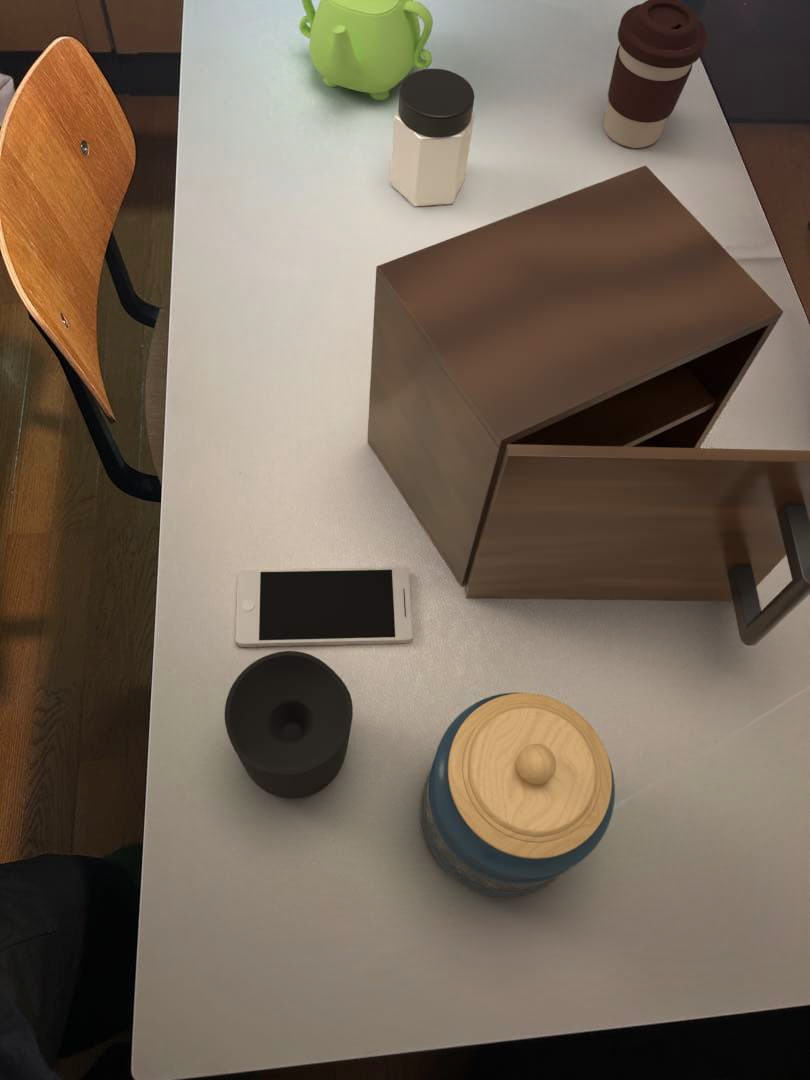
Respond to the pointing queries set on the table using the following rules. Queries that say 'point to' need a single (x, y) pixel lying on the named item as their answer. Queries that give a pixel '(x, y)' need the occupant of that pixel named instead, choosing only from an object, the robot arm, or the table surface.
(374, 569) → the smartphone
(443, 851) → the canister
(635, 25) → the coffee cup
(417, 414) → the cupboard
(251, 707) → the pen holder
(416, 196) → the jar
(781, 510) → the cupboard door
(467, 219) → the table surface
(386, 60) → the teapot
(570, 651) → the table surface
